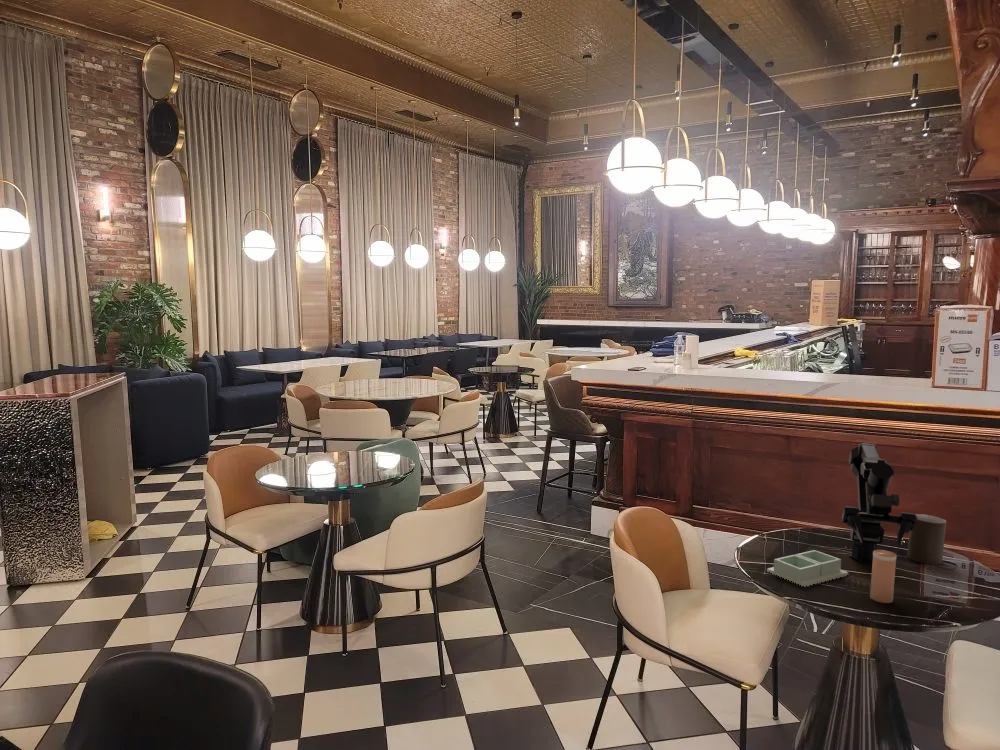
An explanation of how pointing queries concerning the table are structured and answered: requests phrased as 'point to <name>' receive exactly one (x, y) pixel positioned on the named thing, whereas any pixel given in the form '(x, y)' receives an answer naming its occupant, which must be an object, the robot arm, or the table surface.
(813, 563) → the compartment organizer
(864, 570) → the table surface
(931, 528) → the pillar candle
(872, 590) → the tumbler
